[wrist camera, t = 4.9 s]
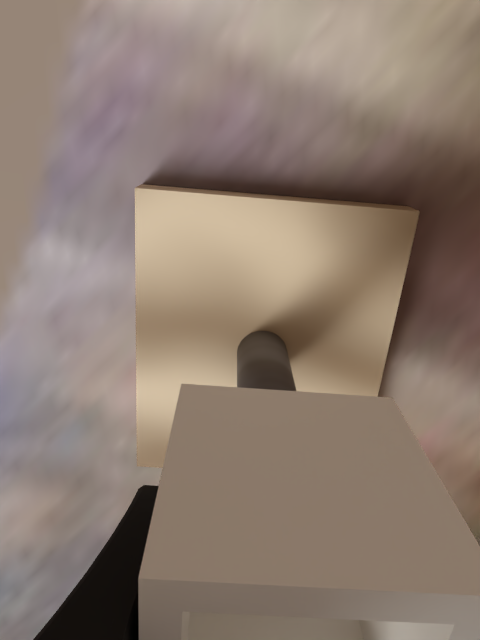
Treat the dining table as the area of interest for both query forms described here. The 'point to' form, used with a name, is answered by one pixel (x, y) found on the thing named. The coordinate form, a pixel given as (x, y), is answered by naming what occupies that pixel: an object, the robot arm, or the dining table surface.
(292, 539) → the hollow square tube
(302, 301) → the roll holder
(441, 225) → the dining table surface
